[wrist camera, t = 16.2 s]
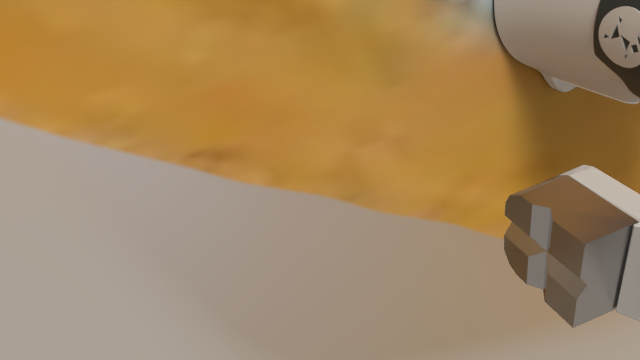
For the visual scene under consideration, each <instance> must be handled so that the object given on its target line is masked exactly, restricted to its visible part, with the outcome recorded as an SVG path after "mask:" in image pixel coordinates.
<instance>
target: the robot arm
mask: <svg viewBox="0 0 640 360" xmlns="http://www.w3.org/2000/svg"><path fill="white" fill-rule="evenodd" d="M494 11H495V21H496V26H497V30H498V33H499V36H500V38H501V41H502V43H503V44H504V46H505V48H506V49H507V51H508V52H509V53H510V54H511V55H512V56H513V57H514V58H515V59H516V60H518V61H519V62H521V63H523V64H525V65H527V66H529V67H532V68H534V69H536V70H538V71H539V72H541V74H542V75H543V77H544V78H545V80H546V82H547V83H548V84H549V85H550V86H551V87H552V88H553V89H555V90H558V91H561V92H568V91H570V90H572V89H574V88H576V87H580V88H583V89H586V90H588V91H591V92H594V93H597V94H600V95H603V96H606V97H609V98H612V99H615V100H618V101H621V102H624V103H627V104H637V103H639V102H640V0H494ZM505 216H507V217H508V218H509V219H510V220H511V221H512V223H511V224H510V226H509V228H508V229H507V231H506V233H505V235H504V250H505V253H506V256H507V258H508V261H509V264H510V265H511V267H512V268H513V270H514V271H515V273H516V274H517V275H518V276H519V277H520V278H521V279H522V280H523V281H524V282H525V283H526V284H528V285H531V286H534V287H537V288H541V289H543V292H544V300H545V302H546V303H547V304H548V305H549V306H550V307H551V308H552V309H553V310H554V311H556V312H557V313H558V314H559V315H560V316H561V317H562V318H563V319H564V320H565V321H566V322H567V323H569V325H571V326H572V327H573V328H574V327H576V326H578V325H580V324H583V323H585V322H587V321H590V320H592V319H594V318H596V317H598V316H601V315H603V314H605V313H608V312H610V311H612V310H614V309H616V312H618V313H621V314H623V315H625V316H628V317H630V318H633V319H635V320H638V321H640V194H638V193H637V192H635V191H633V190H632V189H630V188H628V187H627V186H625V185H623V184H622V183H620V182H618V181H617V180H615V179H613V178H612V177H610V176H608V175H607V174H605V173H603V172H602V171H600V170H598V169H597V168H595V167H593V166H588V165H582V166H580V167H577V168H575V169H572V170H570V171H567V172H565V173H563V174H560V175H559V176H557V177H553V178H551V179H548V180H546V181H544V182H541V183H539V184H536V185H534V186H531V187H529V188H527V189H524V190H522V191H519V192H517V193H514V194H512V195H510V196H509V198H508V200H507V201H506V205H505Z"/></svg>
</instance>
